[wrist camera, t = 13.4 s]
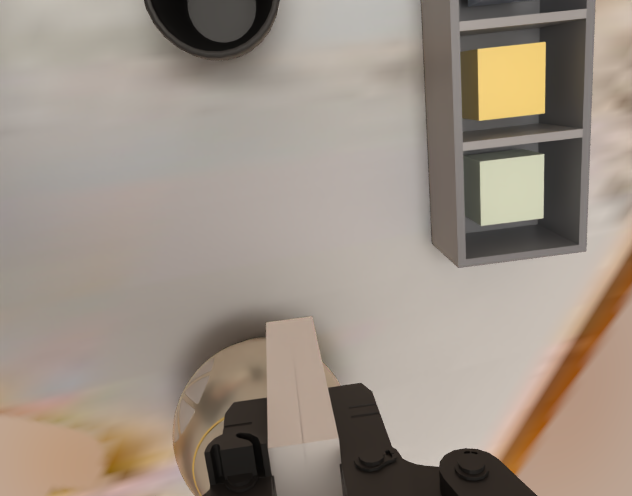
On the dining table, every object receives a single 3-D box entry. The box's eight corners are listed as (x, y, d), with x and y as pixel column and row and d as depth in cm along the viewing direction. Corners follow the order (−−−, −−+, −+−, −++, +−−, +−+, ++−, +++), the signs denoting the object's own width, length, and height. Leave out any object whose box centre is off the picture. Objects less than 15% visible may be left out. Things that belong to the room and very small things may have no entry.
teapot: (233, 276, 48) (218, 368, 32) (368, 341, 51) (415, 454, 35) (144, 441, 52) (92, 595, 36) (275, 493, 54) (280, 657, 39)
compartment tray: (431, 243, 49) (458, 267, 42) (410, -222, 39) (440, -285, 33) (542, 229, 49) (586, 251, 43) (549, -233, 40) (606, -296, 33)
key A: (464, 215, 47) (480, 226, 43) (462, 155, 46) (479, 161, 42) (522, 208, 47) (543, 218, 44) (522, 148, 46) (544, 154, 42)
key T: (461, 118, 45) (479, 120, 41) (460, 52, 43) (477, 48, 40) (522, 111, 45) (545, 113, 41) (522, 45, 44) (545, 41, 40)
